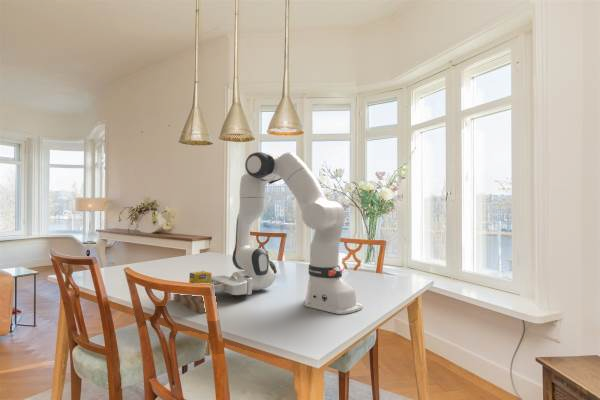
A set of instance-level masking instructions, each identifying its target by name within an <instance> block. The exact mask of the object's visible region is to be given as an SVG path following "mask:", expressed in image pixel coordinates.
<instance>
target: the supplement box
mask: <svg viewBox="0 0 600 400" xmlns="http://www.w3.org/2000/svg"><path fill="white" fill-rule="evenodd" d="M211 277H212V272H209V271H205V270H201V271H194V272H189V280H188V281H189V283H210V284H211ZM189 283H188V284H189Z"/></svg>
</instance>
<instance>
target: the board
mask: <svg viewBox="0 0 600 400" xmlns="http://www.w3.org/2000/svg"><path fill="white" fill-rule="evenodd" d="M173 300H174V301H176V302H177V303H178V304H179V303H180V304H181V305H183V306H185V307H187V308H188V309H190V310H192V311H194V312H196V313H198V314H200V315H201V314H206V313H205V308H204V301H203V297H202V296H192V295H180V294H174V293H173Z"/></svg>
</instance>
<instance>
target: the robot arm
mask: <svg viewBox="0 0 600 400" xmlns="http://www.w3.org/2000/svg"><path fill="white" fill-rule="evenodd" d="M244 165H245V166H244V167H245V170H246V173H244V174H243V175H242V176H241V178H240V185H239V210H238V214H237V218H236V227H235V229H236V230H235V244H234V245H235V246H234V249H233V252H232V263H233V265H234V266H235V268H236V269H238V270H241V271H234V272H233V273H231V276H228V275H214V276H212V275H211V284H214V289H215V290H214V291H221V292H224V293H228V294H230V295H232V296H241V295H247V296H250V295H252V293H253V291H262V290H264V289H268V288H270V287H271V286H272V285H273V284H274V282H275V277H276V273H275V274H274V271H273V270H272V269H271V267H270V264H269V261H270V256H269V253H268V251H267V250H266V249H265V248H262V247H251V245H250V237H251V236H250V235H251V227H252V225H253V223H254V222H256V221H257V220H258V219H260V218H261V217H262V216H263V215H264V214H265V211H266V206H267V201H266V200H267V199H266V198H267V197H266V187H267V185H268V184H269V185H272V184H273V183H277V182H278V181H281V180H282V181H283V182H284V184H285V185H286V187H287V188H288V190H289V191H290V192H291V194H292V195H293V196H294V198H295V199H296V201H297V203H298V205H299V208H300V211H301V215H302V216H301V218H302V221H303V223H304V224H305V225H306V227H308V228H310V229H312V230H314V234H313V238H312V241H311V242H310V247H309V248H310V250H309V251H310V252H309V265H308V268H307V269H308V270H307V271H308V276H309V278H308V283H307V291H306V296H305V299H304V307H307V308H310V309H314V310H320V311H323V312H329V313H331V314H332V313H333V314H338V315H343V314H344V315H345V314H346V315H347V314H350V313H355V312H358V311H361V310H362V309H363V307H364V306H363V304H362V303H360V302H357V295H356V291H355V289H354V288H353V287H352V285H350V284H349V283H348V281H347V280H346V279H345V278H344V277H343V274H342V273H343V272H344V271H345V269H344V268H343V269H341V266H340V265H339V264H340V263H339V260H340V259H339V258H340V257H339V256H340V244H341V243H340V242H341V237H342V231H343V226H344V221H345V219H346V213H347V212H346V210H345V208H344V207H343V205H341V203H339V202H337V201H334V200H328V198H326V196H325V195H324V193H323V190H322V188H321V185H320V184H321V183H320V182H319V181H318V179H317V178H316V177H315V175H314V174H313V173H312V171H311V170H310V168H309V167H308V166H307V165H306V163H305V162H304V161H303V159H301V158H300V157H299V156H298V155H297V154H295V153H293V152H284V153H283V154H281V155H280V156H276V155H273V154H271V153H267V152H266V153H265V152H261V151H259V152H258V151H257V152H254V153H251V154H249V155H248V156H247V158H246V160H245V164H244Z"/></svg>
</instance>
